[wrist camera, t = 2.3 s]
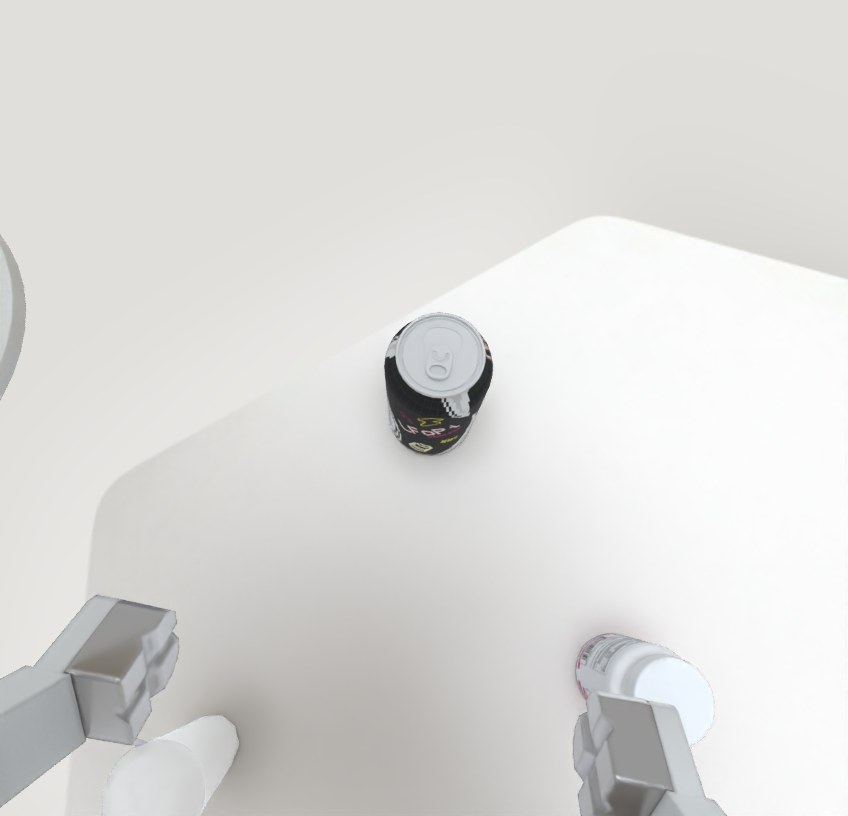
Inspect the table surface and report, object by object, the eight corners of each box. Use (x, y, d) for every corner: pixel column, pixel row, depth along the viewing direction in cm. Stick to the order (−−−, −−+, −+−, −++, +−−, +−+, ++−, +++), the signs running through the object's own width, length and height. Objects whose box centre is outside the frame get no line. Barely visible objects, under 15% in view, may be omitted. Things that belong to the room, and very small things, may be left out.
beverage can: (382, 449, 39) (372, 397, 27) (397, 372, 40) (394, 292, 29) (464, 464, 39) (490, 417, 27) (476, 386, 40) (505, 311, 29)
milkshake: (237, 676, 34) (173, 717, 25) (258, 771, 33) (198, 853, 23) (162, 703, 34) (67, 755, 24) (181, 800, 32) (87, 896, 23)
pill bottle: (655, 714, 35) (731, 757, 26) (578, 716, 34) (632, 760, 26) (645, 631, 36) (715, 648, 28) (571, 633, 36) (620, 650, 28)
